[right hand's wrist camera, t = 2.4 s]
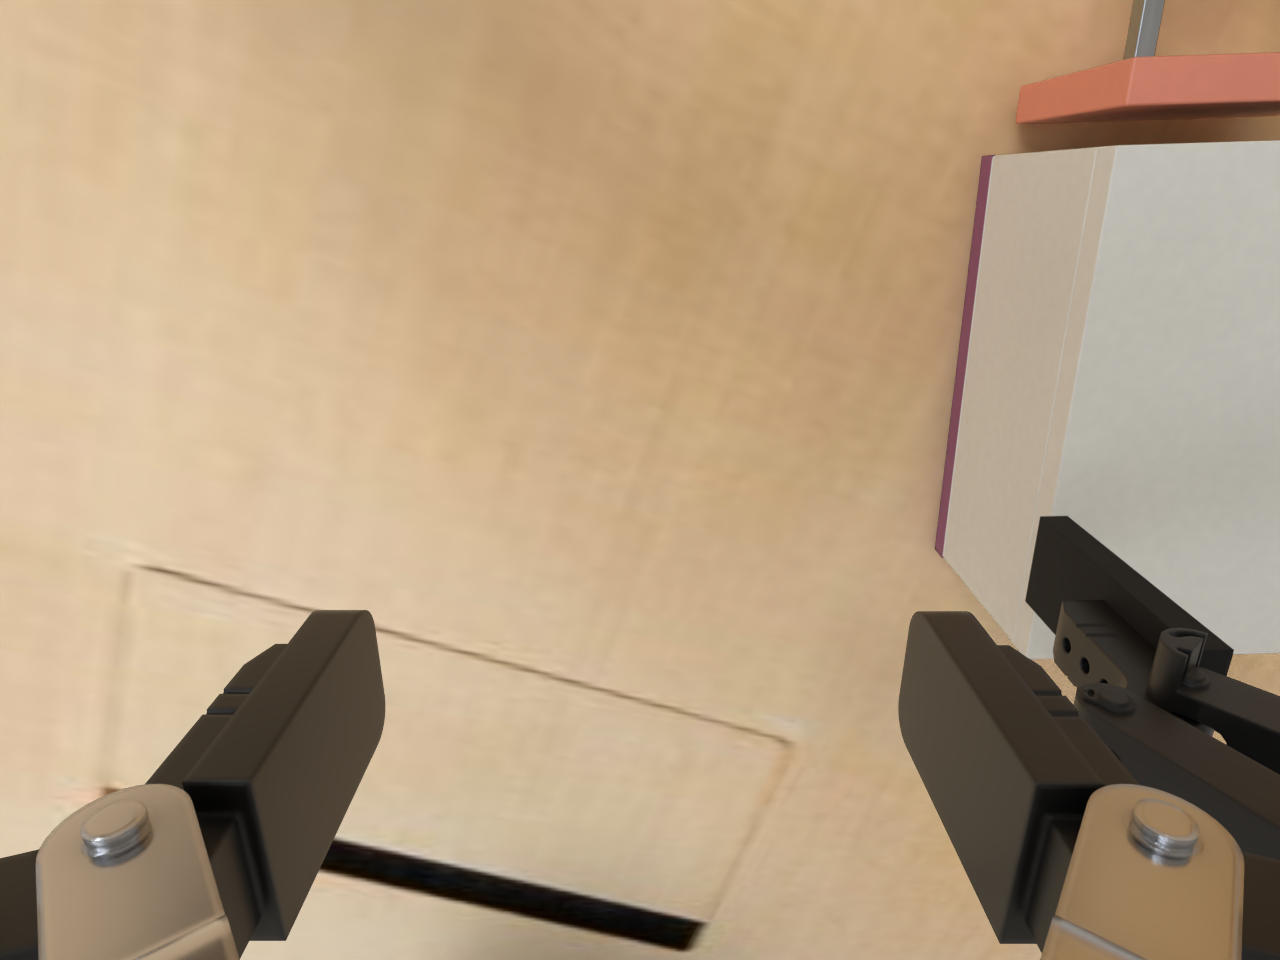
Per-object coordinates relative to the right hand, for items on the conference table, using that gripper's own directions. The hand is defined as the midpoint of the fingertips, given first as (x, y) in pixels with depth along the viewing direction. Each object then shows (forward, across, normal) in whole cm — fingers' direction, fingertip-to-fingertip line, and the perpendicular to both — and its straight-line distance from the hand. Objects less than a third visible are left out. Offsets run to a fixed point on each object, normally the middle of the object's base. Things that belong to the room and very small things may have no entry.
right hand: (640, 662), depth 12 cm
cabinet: (+21, -18, 0) cm, 28 cm away
